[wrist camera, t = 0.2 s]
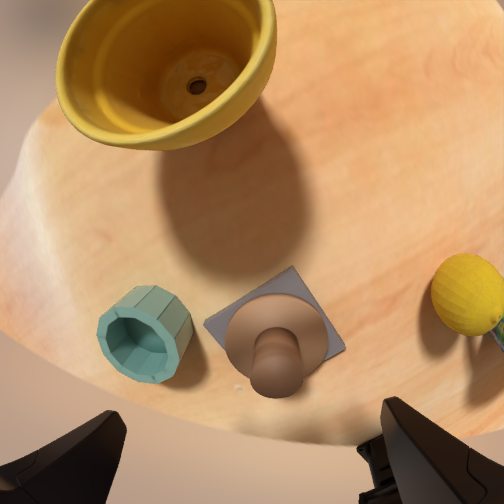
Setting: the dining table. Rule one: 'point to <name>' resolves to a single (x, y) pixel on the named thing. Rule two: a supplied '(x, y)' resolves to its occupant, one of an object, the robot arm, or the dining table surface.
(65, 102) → the plant pot
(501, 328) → the snack cup
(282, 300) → the lid
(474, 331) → the lemon
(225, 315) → the mat
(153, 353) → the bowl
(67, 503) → the robot arm
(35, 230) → the dining table surface
